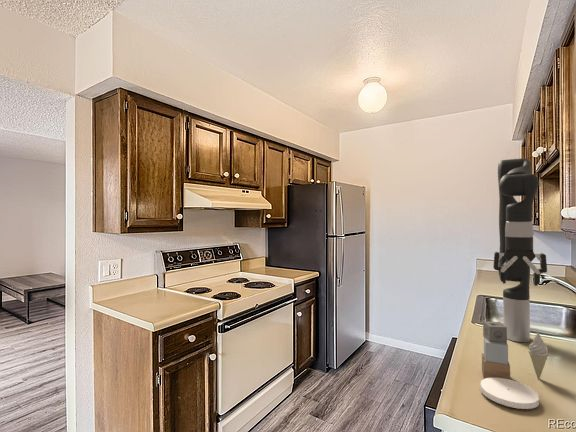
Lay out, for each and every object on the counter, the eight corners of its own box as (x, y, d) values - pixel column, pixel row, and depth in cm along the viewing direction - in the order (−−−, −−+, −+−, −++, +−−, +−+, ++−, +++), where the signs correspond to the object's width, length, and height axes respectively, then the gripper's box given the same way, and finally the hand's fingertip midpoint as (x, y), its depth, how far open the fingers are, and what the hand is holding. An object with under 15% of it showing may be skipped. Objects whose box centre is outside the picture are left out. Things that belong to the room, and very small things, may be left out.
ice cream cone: (547, 377, 104) (546, 330, 104) (550, 384, 100) (549, 335, 100) (527, 373, 107) (527, 327, 107) (529, 380, 103) (529, 332, 103)
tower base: (482, 370, 109) (481, 353, 109) (506, 375, 106) (506, 357, 106) (483, 380, 103) (483, 361, 103) (510, 385, 100) (510, 365, 100)
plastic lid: (482, 381, 103) (482, 373, 103) (537, 394, 95) (537, 385, 95) (478, 401, 92) (477, 392, 92) (540, 419, 84) (540, 409, 84)
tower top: (483, 354, 109) (483, 336, 109) (505, 357, 106) (505, 339, 106) (485, 361, 103) (485, 342, 103) (508, 365, 101) (508, 345, 101)
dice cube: (483, 336, 108) (483, 321, 108) (499, 337, 108) (499, 322, 107) (489, 342, 104) (489, 326, 104) (506, 343, 103) (506, 327, 103)
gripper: (543, 234, 107) (543, 283, 107) (492, 234, 114) (492, 280, 114) (548, 236, 100) (549, 288, 101) (494, 235, 107) (495, 284, 107)
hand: (519, 284), depth 107 cm, fingers open, 8 cm apart
